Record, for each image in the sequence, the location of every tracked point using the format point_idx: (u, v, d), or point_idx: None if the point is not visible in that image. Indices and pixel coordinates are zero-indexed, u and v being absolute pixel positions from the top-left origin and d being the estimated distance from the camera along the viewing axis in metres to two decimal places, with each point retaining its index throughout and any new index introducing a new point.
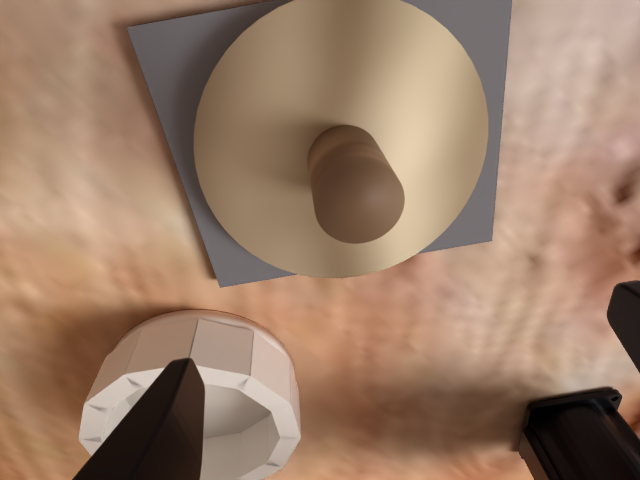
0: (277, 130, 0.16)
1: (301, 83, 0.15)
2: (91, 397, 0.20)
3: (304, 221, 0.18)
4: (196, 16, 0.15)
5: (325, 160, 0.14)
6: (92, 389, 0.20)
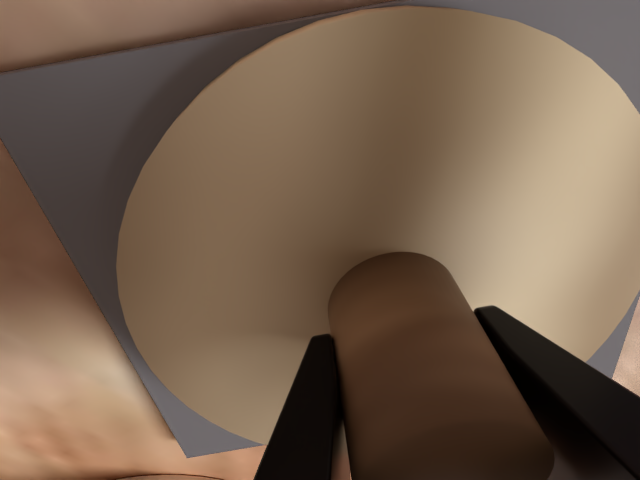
0: (273, 264, 0.09)
1: (320, 186, 0.08)
2: None
3: None
4: (108, 58, 0.07)
5: (375, 367, 0.07)
6: None
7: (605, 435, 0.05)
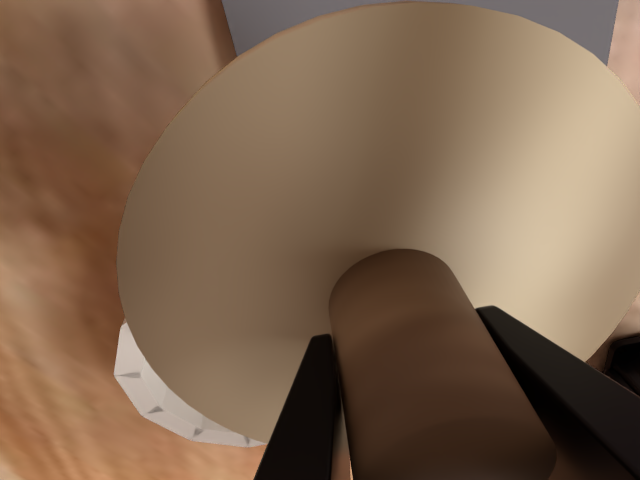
0: (273, 261, 0.09)
1: (321, 182, 0.08)
2: None
3: None
4: None
5: (376, 364, 0.07)
6: None
7: (605, 435, 0.05)
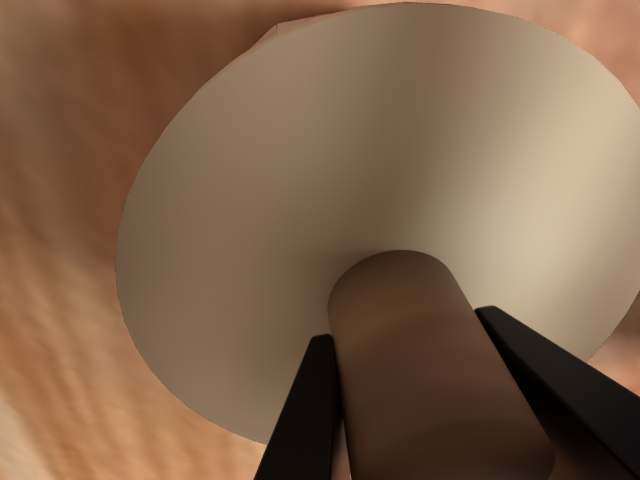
0: (272, 262, 0.09)
1: (320, 183, 0.08)
2: None
3: None
4: None
5: (375, 366, 0.07)
6: None
7: (605, 435, 0.05)
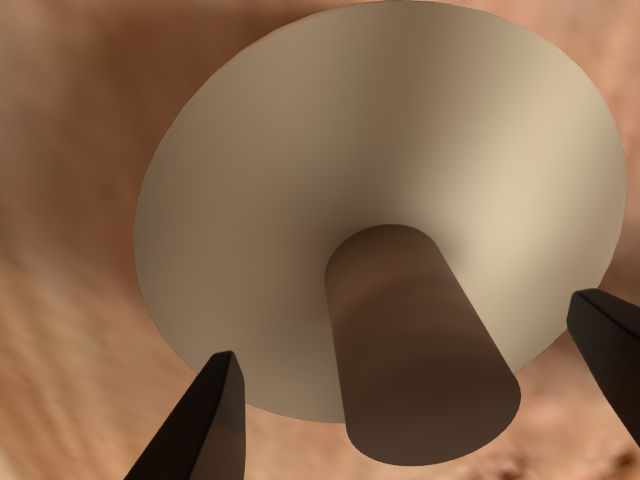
0: (274, 235, 0.10)
1: (317, 162, 0.09)
2: None
3: (317, 356, 0.12)
4: None
5: (365, 318, 0.08)
6: None
7: None
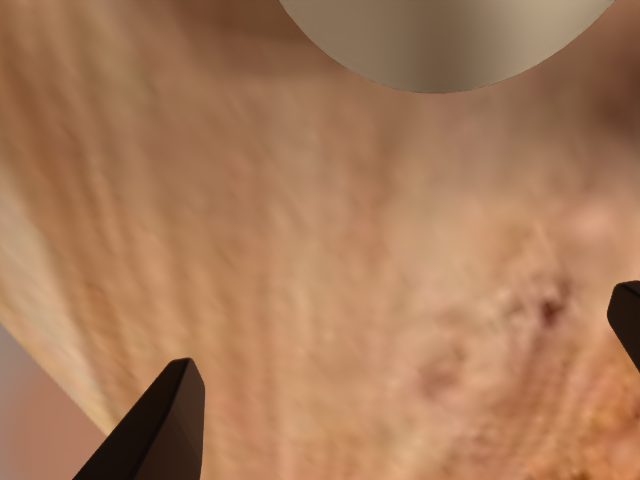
0: None
1: None
2: None
3: None
4: None
5: None
6: None
7: None
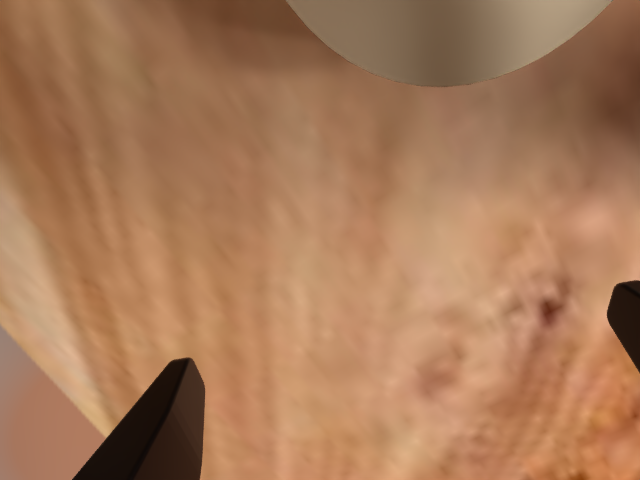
0: None
1: None
2: None
3: None
4: None
5: None
6: None
7: None
